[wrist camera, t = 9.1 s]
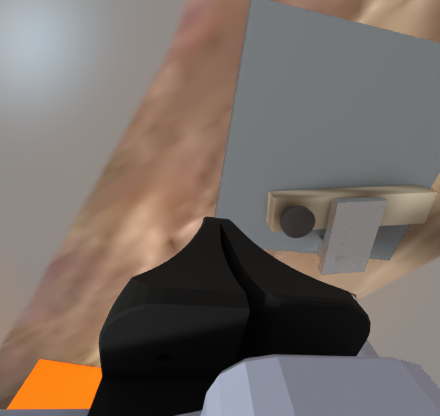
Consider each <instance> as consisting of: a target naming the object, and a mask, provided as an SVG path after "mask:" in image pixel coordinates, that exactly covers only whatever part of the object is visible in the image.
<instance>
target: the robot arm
mask: <svg viewBox="0 0 440 416" xmlns="http://www.w3.org/2000/svg"><path fill="white" fill-rule="evenodd" d="M355 299H356V298H355V297H354V296H353V295H351V294H350V293H349V292H348V291H345V290H343V289H340V288H337V287H335V286H332V285H329V284H326V283H324V282H321V281H319V280H316V279H314V278H312V277H310V276H307V275H305V274H303V273H301V272H299V271H297V270H295V269H293V268H291V267H289V266H288V265H286V264H284V263H282V262H281V261H279V260H277V259H276V258H274V257H273V256H271V255H270V254H268V253H267V252H265V251H264V250H263V249H261V248H260V247H259V246H258V245H256V244H255V243H254V242H253V241H252V240H251V239H249V238H248V237H247V236H246V235H245V234H244V233H243V232H242V231H241V230H240V229H239V228H238V227H237V226H236V225H235V224H234V223H233V222H232V221H231V220H230V219H224V218H214V217H205V218H203V223H202V225H201V227H200V229H199V230H198V232H197V234H196V235H195V236H194V237H193V239H192V240H191V241H190V242H189V243H188V244H187V245H186V246H185V247H184V248H183V249H182V250H181V251H180V252H179V253H177V254H176V255H175V256H174V257H172V258H171V259H170V260H168V261H166V262H165V263H163V264H161V265H159V266H158V267H156V268H154V269H151V270H149V271H147V272H144V273H142V274H140V275H137V276H134V277H132V278H131V279H130V281H129V282H128V283H127V285H126V286H125V288H124V289H123V290H122V292H121V293H120V295H119V297H118V298H117V300H116V301H115V303H114V305H113V306H112V308H111V310H110V312H109V314H108V317H107V319H106V321H105V323H104V325H103V328H102V330H101V332H100V337H99V352H100V362H101V372H102V378H101V381H100V383H99V386H98V389H97V391H96V394H95V396H94V399H93V402H92V404H91V407H90V409H0V416H440V388H439V387H438V386H437V385H436V383H435V382H434V381H433V380H432V379H431V378H430V376H429V375H428V374H427V373H426V372H425V371H424V369H422V367H421V366H420V365H418V364H414V363H411V362H407V361H403V360H399V359H396V358H391V357H379V356H378V354H377V353H376V352H375V350H374V349H373V347H372V346H371V345H370V343H369V342H368V341H367V338H368V336H369V333H370V324H371V323H370V320H369V317H368V315H367V314H366V312H365V311H364V310H363V309H362V307H361V306H360V305H359V304H358V303H357V301H356V300H355Z"/></svg>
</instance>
